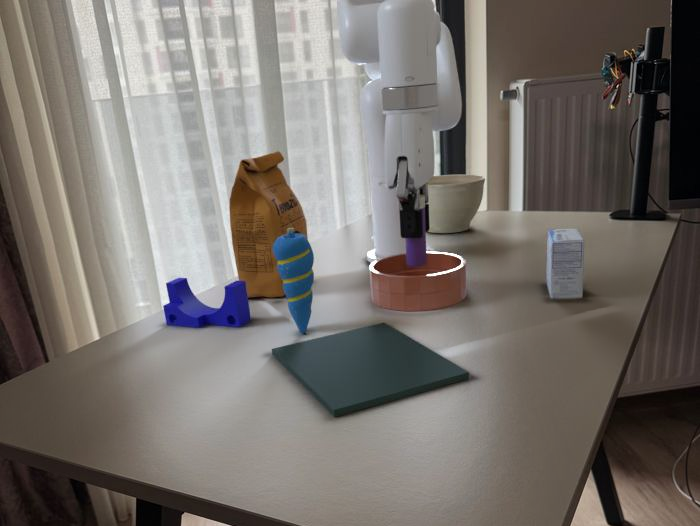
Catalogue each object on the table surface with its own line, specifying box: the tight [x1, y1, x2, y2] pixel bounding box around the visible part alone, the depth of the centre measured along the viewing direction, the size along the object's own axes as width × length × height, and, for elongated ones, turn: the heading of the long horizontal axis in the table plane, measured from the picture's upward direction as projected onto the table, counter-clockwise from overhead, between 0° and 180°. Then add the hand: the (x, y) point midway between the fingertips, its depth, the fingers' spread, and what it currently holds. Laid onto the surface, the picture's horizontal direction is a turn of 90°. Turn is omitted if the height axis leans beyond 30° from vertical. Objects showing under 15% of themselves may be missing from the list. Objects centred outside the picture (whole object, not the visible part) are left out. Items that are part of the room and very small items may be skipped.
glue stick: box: [405, 194, 427, 267], centre depth 95 cm, size 3×3×10 cm
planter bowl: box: [427, 174, 486, 234], centre depth 140 cm, size 16×16×11 cm
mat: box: [271, 322, 470, 418], centre depth 76 cm, size 20×16×1 cm
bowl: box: [368, 251, 468, 312], centre depth 97 cm, size 14×14×6 cm
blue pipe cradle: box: [162, 277, 252, 329], centre depth 95 cm, size 12×4×6 cm, turn 65°
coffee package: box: [229, 150, 309, 299], centre depth 104 cm, size 10×12×22 cm
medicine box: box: [545, 228, 585, 299], centre depth 93 cm, size 8×4×9 cm, turn 168°
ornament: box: [273, 224, 315, 335], centre depth 85 cm, size 5×5×15 cm
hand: (415, 233), depth 95 cm, fingers closed on glue stick, 3 cm apart
